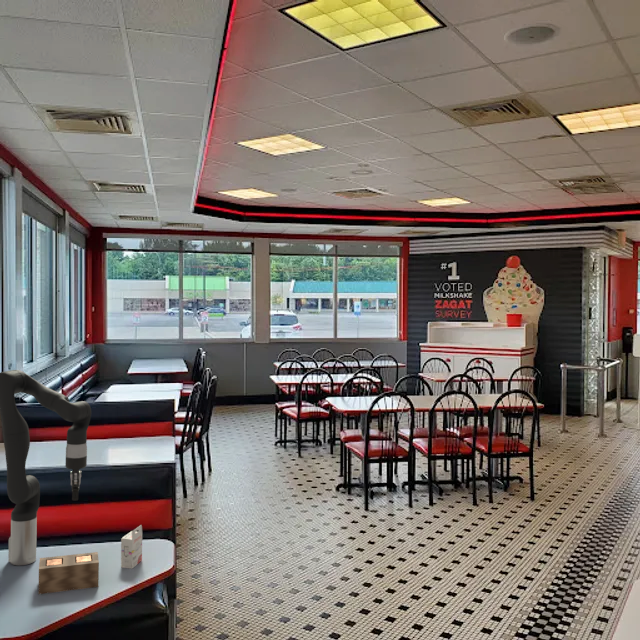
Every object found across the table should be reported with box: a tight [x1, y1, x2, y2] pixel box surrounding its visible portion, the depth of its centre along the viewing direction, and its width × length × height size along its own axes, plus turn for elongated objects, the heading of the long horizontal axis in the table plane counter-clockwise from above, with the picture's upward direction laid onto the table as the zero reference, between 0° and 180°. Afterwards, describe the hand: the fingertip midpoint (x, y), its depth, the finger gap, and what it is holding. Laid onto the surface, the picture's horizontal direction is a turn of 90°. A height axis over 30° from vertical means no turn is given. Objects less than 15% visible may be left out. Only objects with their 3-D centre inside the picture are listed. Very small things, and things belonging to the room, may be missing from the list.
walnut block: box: [37, 551, 100, 595], centre depth 241 cm, size 20×10×9 cm, turn 111°
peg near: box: [47, 559, 62, 566], centre depth 239 cm, size 5×5×9 cm
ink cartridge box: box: [120, 524, 143, 570], centre depth 260 cm, size 9×5×15 cm, turn 168°
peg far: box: [76, 556, 91, 563], centre depth 242 cm, size 5×5×9 cm
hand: (75, 499), depth 251 cm, fingers closed
